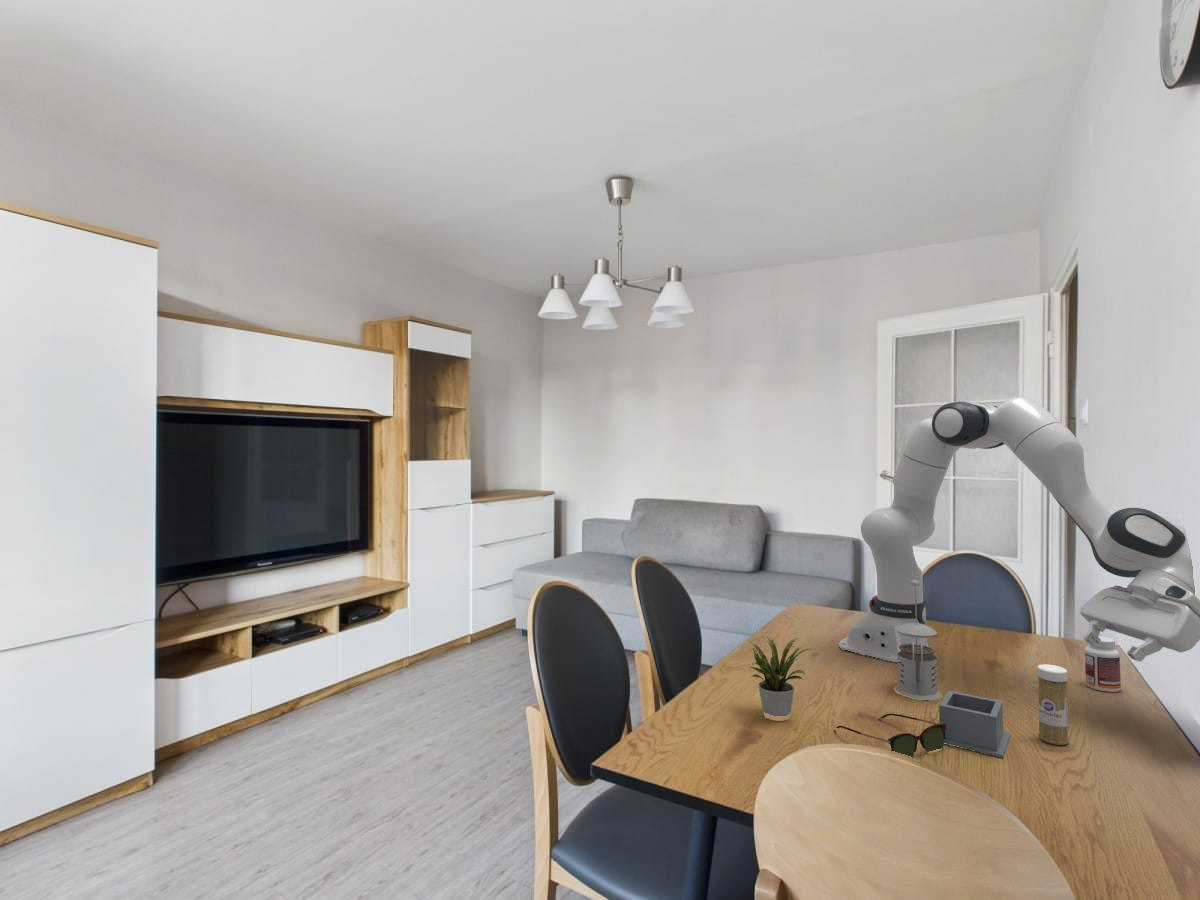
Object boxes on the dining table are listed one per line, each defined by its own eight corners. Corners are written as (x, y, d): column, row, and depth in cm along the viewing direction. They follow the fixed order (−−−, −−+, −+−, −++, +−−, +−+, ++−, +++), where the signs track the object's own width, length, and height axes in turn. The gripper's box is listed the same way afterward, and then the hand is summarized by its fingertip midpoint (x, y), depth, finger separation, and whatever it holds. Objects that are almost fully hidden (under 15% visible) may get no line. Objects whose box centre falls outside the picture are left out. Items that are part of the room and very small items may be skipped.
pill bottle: (1125, 689, 140) (1124, 639, 140) (1114, 695, 137) (1113, 644, 137) (1091, 680, 145) (1090, 633, 145) (1080, 686, 142) (1079, 637, 142)
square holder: (932, 741, 116) (931, 705, 116) (944, 721, 125) (943, 687, 125) (1002, 758, 109) (1002, 720, 109) (1010, 736, 118) (1009, 700, 118)
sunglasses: (891, 768, 108) (888, 737, 108) (828, 739, 121) (826, 713, 122) (949, 751, 113) (946, 722, 114) (882, 726, 127) (880, 700, 127)
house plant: (819, 707, 133) (818, 629, 133) (820, 734, 120) (818, 648, 120) (750, 699, 137) (749, 624, 138) (743, 725, 124) (742, 642, 125)
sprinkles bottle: (1037, 741, 116) (1035, 668, 116) (1040, 732, 119) (1038, 661, 119) (1068, 748, 113) (1066, 673, 113) (1070, 739, 116) (1068, 666, 116)
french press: (941, 688, 142) (938, 577, 143) (945, 706, 132) (942, 587, 132) (893, 682, 147) (891, 574, 147) (893, 699, 136) (891, 584, 136)
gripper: (1099, 573, 128) (1054, 623, 127) (1201, 595, 107) (1148, 655, 106) (1121, 594, 128) (1076, 644, 127) (1227, 621, 107) (1174, 680, 107)
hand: (1110, 649), depth 117 cm, fingers open, 8 cm apart
